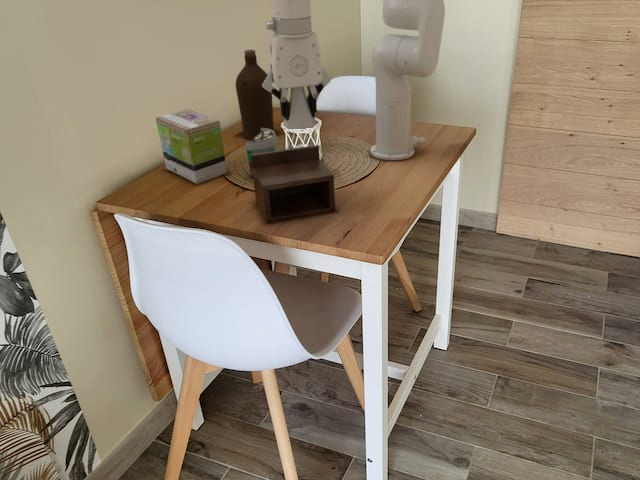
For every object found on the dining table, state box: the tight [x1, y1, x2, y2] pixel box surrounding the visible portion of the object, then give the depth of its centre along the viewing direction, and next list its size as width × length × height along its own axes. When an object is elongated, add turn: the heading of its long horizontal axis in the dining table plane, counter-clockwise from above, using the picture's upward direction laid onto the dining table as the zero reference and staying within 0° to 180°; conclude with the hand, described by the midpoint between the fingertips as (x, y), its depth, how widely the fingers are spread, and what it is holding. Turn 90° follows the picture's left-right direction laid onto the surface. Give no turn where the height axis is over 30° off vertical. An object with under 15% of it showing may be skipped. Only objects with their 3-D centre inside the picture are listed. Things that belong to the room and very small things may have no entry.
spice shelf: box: [250, 144, 336, 224], centre depth 130 cm, size 16×12×12 cm
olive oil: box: [235, 49, 275, 140], centre depth 172 cm, size 11×11×25 cm
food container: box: [244, 128, 279, 179], centre depth 150 cm, size 12×6×10 cm, turn 168°
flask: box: [282, 87, 317, 130], centre depth 121 cm, size 7×7×10 cm
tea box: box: [155, 108, 228, 185], centre depth 149 cm, size 15×10×15 cm
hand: (299, 116), depth 123 cm, fingers closed on flask, 4 cm apart
